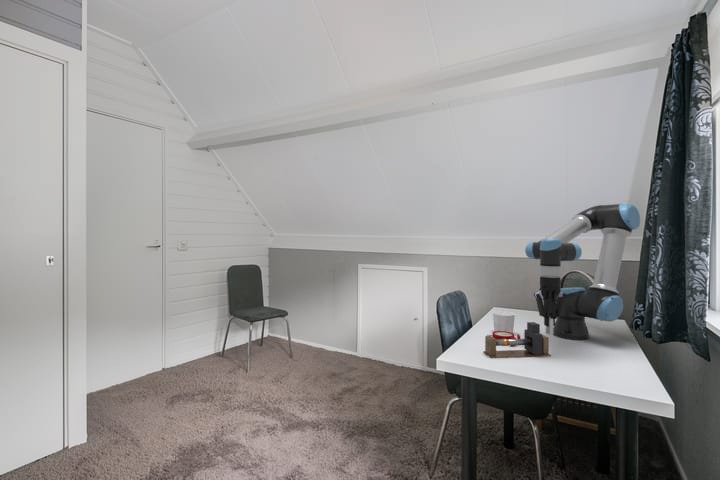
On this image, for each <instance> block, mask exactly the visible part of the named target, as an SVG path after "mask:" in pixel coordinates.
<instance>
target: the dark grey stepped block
mask: <svg viewBox="0 0 720 480" xmlns="http://www.w3.org/2000/svg"><path fill="white" fill-rule="evenodd" d="M540 325H541V324H539V323H536V322H535V321H533V322H532V321H531V322H529V321H527V322H526V329H524V334H523V335H524V338H523V339H532V345H523V347H524V349H523V350H528V351H529V352H531V353H533V354H535V355H542V339H543V335H544V334H542V333H540V332H541V331H540V327H541V326H540Z"/></svg>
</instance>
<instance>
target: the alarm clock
mask: <svg viewBox="0 0 720 480" xmlns="http://www.w3.org/2000/svg"><path fill="white" fill-rule="evenodd" d="M486 336H492V337H493V338H495V339H496V340H502V339H521V335H520V334H518V333H516V337H515V334H514V332H513V333H511V332H507V331H494V330H493V331H492V333H491V334H487V335H486ZM509 346H510V347H516V346H517V345H509Z"/></svg>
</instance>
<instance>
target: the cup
mask: <svg viewBox="0 0 720 480" xmlns="http://www.w3.org/2000/svg"><path fill="white" fill-rule="evenodd" d="M515 315H516V313H514V312H512V311H511V312H510V311H505V310H501V311H500V310H499V311H498V310H495V311H493V312H492V318H493V319H492V320H493V332H494V331H507V332H511V333H513V334H514V328H515V327H514V326H515Z"/></svg>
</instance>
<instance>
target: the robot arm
mask: <svg viewBox="0 0 720 480" xmlns="http://www.w3.org/2000/svg"><path fill="white" fill-rule="evenodd" d="M640 224H641V215H640V212H639V210H638V208H637V207H636V206H635V205H634V204H632V203H615V204H604V205H603V204H599V205H595V206H592V207H589V208H587V209H584V210H582V211H581V212H578V213H576V214H575V215H574V216H572V218H571V220H570V221H569V222H567V223H565V224H563V226H561V227H559V228H557V229H556V230H554V231H553V232H552V233H550V234H548V235H546V236H545V237H544V238H542V239H541V240H539V241H536V242H535V241H533V242H528V243H527V244H526V246H525V249H524V250H525V251H524V252H525V254H526V256H527V257H528V259H529V258H530V259H534V260H540V264H539V275H540V277H539V291H537V292H535V293H533V297H535V300H536V305H537V309H538V315H539V316H540V317H543V319H544V321H543V325H544V326H545V334H547V335H549V336H555V337H559V338H562V339H566V340H574V341H575V340H576V341H583V340H588V339H590V333H589V332H590V331H589V329H588V327H587V324H586V318H588V319H593V320H598V321H601V322H614V321H616V320H617V319H618V318H619V317H620V316H621V314H622V312H623V310H624V303H623V302H624V300H623V298H621V296H619V295H620V293H619V291H618V290H617V285H618V280H619V275H620V270H621V265H622V260H623V255H624V250H625V245H626V241H627V238H628V237H630V236H632V231H634V230H637V229H638V228H639V227H640ZM596 230H600V232H601V233H602V234H603V237H602V241H601V246H600V250H599V251H600V252H599V256H598V260H597V265H596V269H595V274H594V275H595V276H594V280H593V283H592V285H589V286H588V288H587V291H586V289H585V287H562V288H561V285H562V284H561V276H562V273H561V272H562V270H561V269H562V267H561V262H573V261H577V260H579V259H580V258H581V257H582V254H583V253H582V248H581V247H580V246H581V245H578V244H577V243H573V242H571V241H573V240H574V239H576V238H577V237H578V236H580V235H581V234H586V233H588V232H591V231H596Z"/></svg>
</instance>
